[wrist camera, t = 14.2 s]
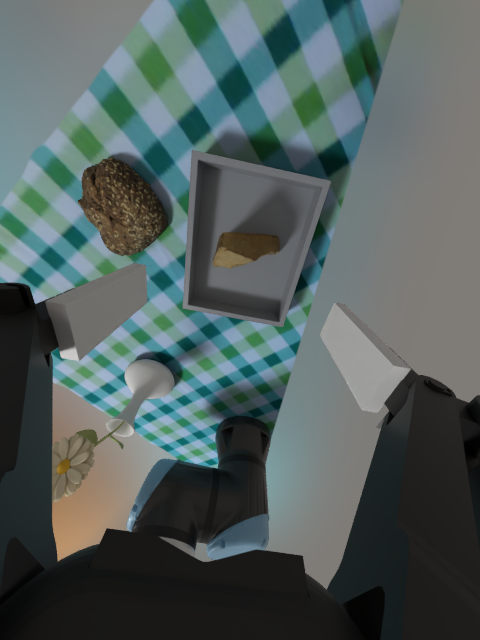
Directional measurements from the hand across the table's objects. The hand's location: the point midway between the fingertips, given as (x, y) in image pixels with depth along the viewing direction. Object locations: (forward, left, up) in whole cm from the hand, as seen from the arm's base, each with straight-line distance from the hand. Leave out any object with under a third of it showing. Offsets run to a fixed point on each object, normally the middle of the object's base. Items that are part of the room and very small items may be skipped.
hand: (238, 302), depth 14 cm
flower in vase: (-32, +17, -23) cm, 43 cm away
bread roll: (+2, +20, -23) cm, 31 cm away
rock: (0, 0, -22) cm, 22 cm away
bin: (0, 0, -22) cm, 23 cm away
